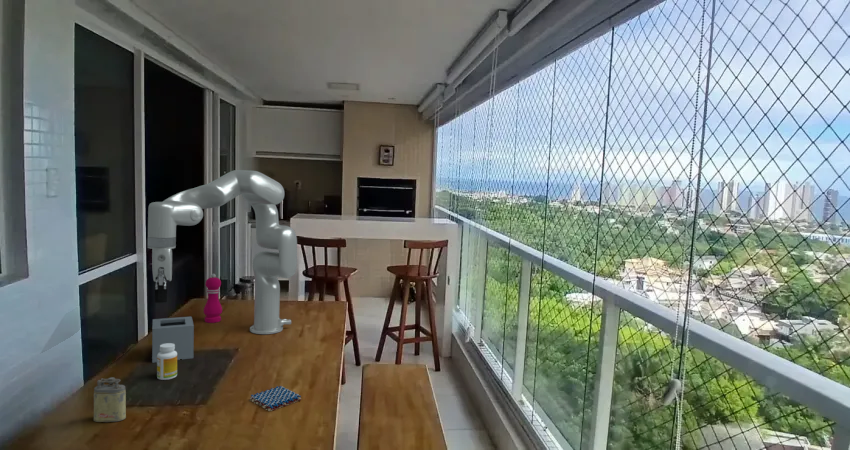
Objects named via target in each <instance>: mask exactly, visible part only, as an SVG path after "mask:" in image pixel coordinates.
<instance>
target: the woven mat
mask: <svg viewBox="0 0 850 450" xmlns="http://www.w3.org/2000/svg"><path fill="white" fill-rule="evenodd" d="M249 398H250V399H249V401H250V402H251V403H253V404H256V405H259V407H261V408H263V409H264V410H265V411H268V412H272V411H276V410H278V409H280V408H283V407H287V406H289V405H291V404H294V403H297V402H300V401H301V400H302V395H299V393H296V392H295V391H292V390H290V389H289V388H286V387H284V386H282V385H279V386H278V385H276V387H271V388H270V389H266V390H264V391H263V390H262V391H261V392H256V393H255V394H251V395H250V397H249Z"/></svg>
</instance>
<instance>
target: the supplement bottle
mask: <svg viewBox="0 0 850 450" xmlns="http://www.w3.org/2000/svg"><path fill="white" fill-rule="evenodd" d="M174 349H175V344H173V343H166V344H162V345H160V351H161V352H159V353H158V355H157V362H156V377H157V379H158V380H160V381H161V380H162V381H163V380H164V381H166V380H172V379H174V378H176V377H177V376H178V360H177V352H176V351H174Z"/></svg>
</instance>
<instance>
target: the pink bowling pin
mask: <svg viewBox="0 0 850 450" xmlns="http://www.w3.org/2000/svg"><path fill="white" fill-rule="evenodd" d="M204 284H205V287H206V288H207V289H206V293H207V301H206V303H205V305H204V307H203V314H204V315H205V316H204V322H205V323H207V324H216V323H219V322H221V321H222V317H221V314H222V313H223V307H222V304H221V302H220V299H219V293H220V291H221V290H220V288H221V285H222V281H221V279H220V278H219V277H217V276H216V274H215V273H211V276H210V277H208V278H207V279H206V281H205V283H204Z"/></svg>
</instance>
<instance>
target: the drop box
mask: <svg viewBox="0 0 850 450" xmlns="http://www.w3.org/2000/svg"><path fill="white" fill-rule="evenodd" d="M151 329H152V331H151V332H152V338H151V340H152V345H151V347H152V348H151V349H152V350H151V351H152V352H151V353H152V354H151V356H152V357H151V359H152V360H151V362H152V364H153V363H157V355H158V353H159V352H161V351H160V345H162V344H166V343H173V344H175V349H174V351H176V352H177V361H181V360H180V359H182V360H189V359H194V356H195V355H194V350H195V349H194V348H195V347H194V344H195V343H194V339H195V334H194V333H195V330H194V329H195V325H194V321H193V317H192V316H179V317H169V318H168V317H166V318H165V317H164V318H153V319H152V328H151Z"/></svg>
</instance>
